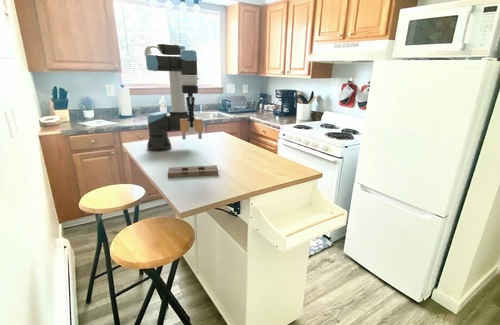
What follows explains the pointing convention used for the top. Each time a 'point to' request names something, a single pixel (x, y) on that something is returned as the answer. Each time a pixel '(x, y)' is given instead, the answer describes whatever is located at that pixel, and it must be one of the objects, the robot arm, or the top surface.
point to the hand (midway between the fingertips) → (191, 132)
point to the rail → (192, 171)
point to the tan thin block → (197, 125)
